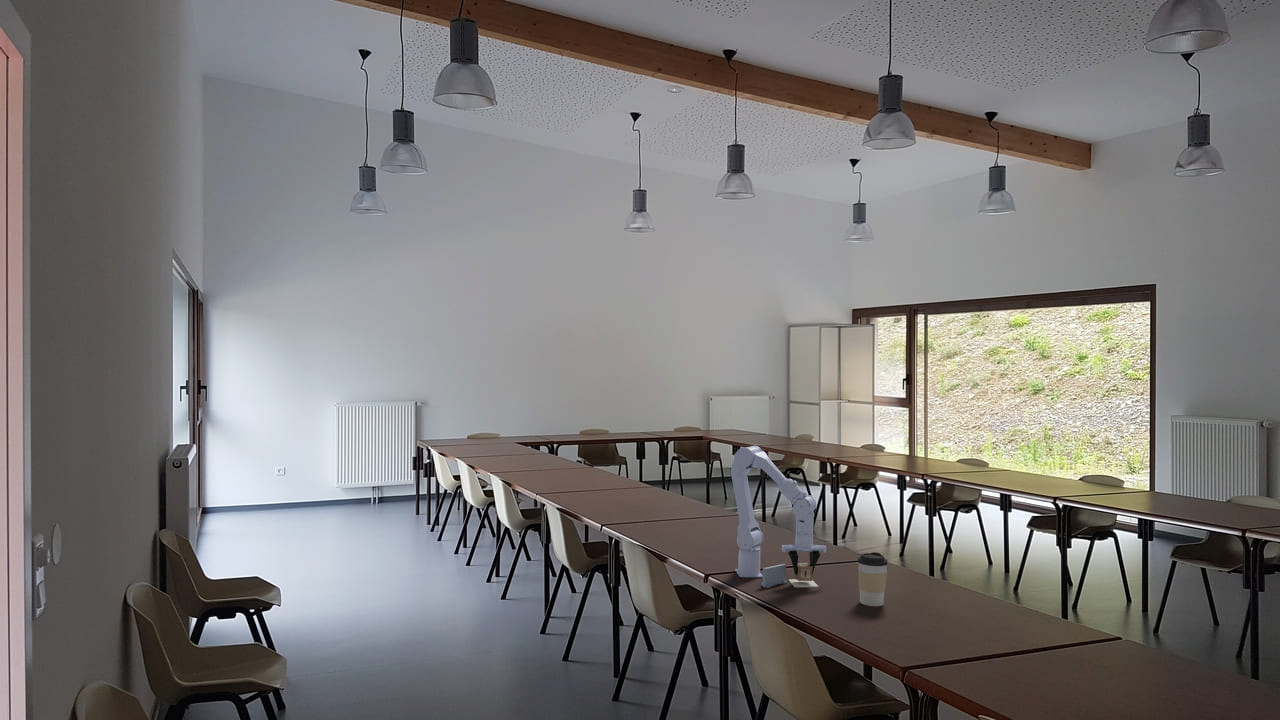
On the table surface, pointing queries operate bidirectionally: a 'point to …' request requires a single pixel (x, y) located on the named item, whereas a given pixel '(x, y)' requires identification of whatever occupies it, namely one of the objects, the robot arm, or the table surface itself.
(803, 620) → the table surface
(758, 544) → the robot arm
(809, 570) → the letter cube
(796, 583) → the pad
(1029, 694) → the table surface
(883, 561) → the coffee cup
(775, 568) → the screen
